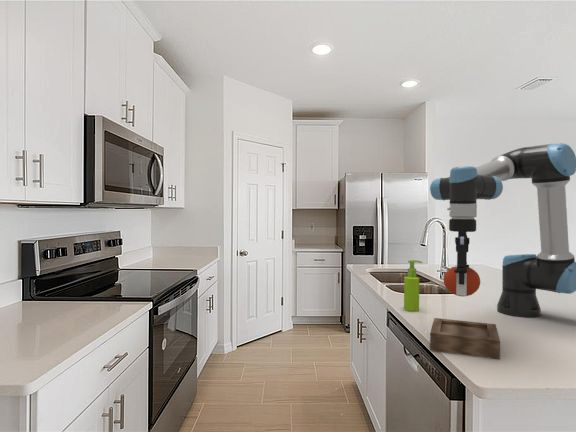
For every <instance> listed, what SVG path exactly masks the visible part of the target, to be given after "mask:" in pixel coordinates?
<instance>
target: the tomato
mask: <svg viewBox="0 0 576 432" xmlns="http://www.w3.org/2000/svg"><path fill="white" fill-rule="evenodd" d="M456 268H457V264H456V265H454V266H452V267H450V268H449V269H447V271H446V272H445V273H444V275H443V284H444V287H445V288H446V290H448V292H450V293H451V294H453V295H455V296H458V297H461V296H460V295H456V278H457V273H454V270H456ZM466 269H467V272H466V273H467V294H466V296H465V297H469V296H472V295H474V294H475V293H476V292H477V291H478V290H479V289H480V286H481V278H480V275H479V273H478V272H477V270H475V269H473V267H469V268H468V267H466Z"/></svg>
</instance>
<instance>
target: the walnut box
mask: <svg viewBox="0 0 576 432" xmlns="http://www.w3.org/2000/svg"><path fill="white" fill-rule="evenodd" d="M432 321H433V322H432V325H431V329H430V332H429V348H430V349H429V350H430V351H435V352H441V353H449V354H456V355H462V356H463V355H464V356H472V357H479V358H480V357H481V358H485V359H486V358H488V359H494V360H501V339H500V336H499V332H498V329H497V324H495V323H487V322H477V321H467V320H458V319H457V320H456V319H448V318H439V317H434V318H433V320H432Z"/></svg>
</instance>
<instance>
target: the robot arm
mask: <svg viewBox="0 0 576 432" xmlns="http://www.w3.org/2000/svg"><path fill="white" fill-rule="evenodd" d="M449 172H450V173H449V176H448V177H439V178H436V179H433V181H431V183H430V187H429V191H430V195H431V197H432V198H433V199H434V200H437V201H449V206H448V207H447V211H449V213H448V214H449V217H450V219H449V220H448V230H449V231H450V232H457V235H458V236H457V237H455V238H454V244H455V252H456V265H457V268H456V270H454V273H457V278H456V295H455V296H457V295H460V296H459V297H467V296H466V294H467V273H466V272H467V269H466V267H468V268H470V264H468V261H467V255H468V252H469V245H470V237H468V234H467V233H468V232H469V233H472V232H473V233H474V232H477V220H476V219H475V218H477V215H478V213H477V212H478V210H477V208H478V206H477V205H478V203H477V200H486V201H488V200H495V199H498V197H500V196H501V195H502V192H503V189H504V185H503V184H504V183H503V182H504V181H505V182H506V181H508V180H513V179H517V180H518V179H531V184H532V185H533V186H534V187H536V191H537V192H536V193H537V209H538V222H539V223H538V224H539V236H540V237H539V240H540V252H539V253H538V254H535V253H529V254H528V253H527V254H509V255H505V256H504V257H503V258H502V265H501V266H502V267H501V268H502V287H501V294H500V295H499V300H498V302H497V306H496V310H497V312H498V313H499V312H500V313H501V314H503V315H508V316H515V317H524V318H536V317H540V316H541V315H542V310H541V309H542V308H541V306H540V302H539V300H538V297H537V290H539V291H547V292H552V293H557V294H569V295H571V294H574V293H575V292H576V259H575V258H576V257H575V255H574V254H573V253H572V252H570V246H569V245H570V244H569V229H568V228H569V227H568V212H567V211H568V210H567V196H566V195H567V194H566V193H567V192H566V185H567V184H568V183H569V182H570V181H571V176H573V175H575V173H576V154H575V151H574V150H573V149H572V147H571V146H570V145H569V144H567V143H564V142H563V143H562V142H561V143H549V144H541V145H535V146H534V145H533V146H525V147H519V148H516V149H513V150H510V151H508V152H506V153H503V154H500V155H498V156H495V157H493V158H492V160H491V161H489V162H486V163H483V164H481V165H478V166H473V165H472V166H469V165H467V166H466V165H465V166H456V167H452V168H451V169H450V171H449Z"/></svg>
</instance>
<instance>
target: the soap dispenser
mask: <svg viewBox="0 0 576 432" xmlns="http://www.w3.org/2000/svg"><path fill="white" fill-rule="evenodd" d="M407 262H408V263H409V267H408V268H407V276H404V279H403V280H404V281H403V282H404V283H403V285H404V286H403V289H404V290H403V310H404V311H406V310H407V312H419V311H420V277H418V276H417V268H415V263H418V264H423V261H420V260H418V259H417V260H416V259H415V260H413V259H412V260H408V261H407Z"/></svg>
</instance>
